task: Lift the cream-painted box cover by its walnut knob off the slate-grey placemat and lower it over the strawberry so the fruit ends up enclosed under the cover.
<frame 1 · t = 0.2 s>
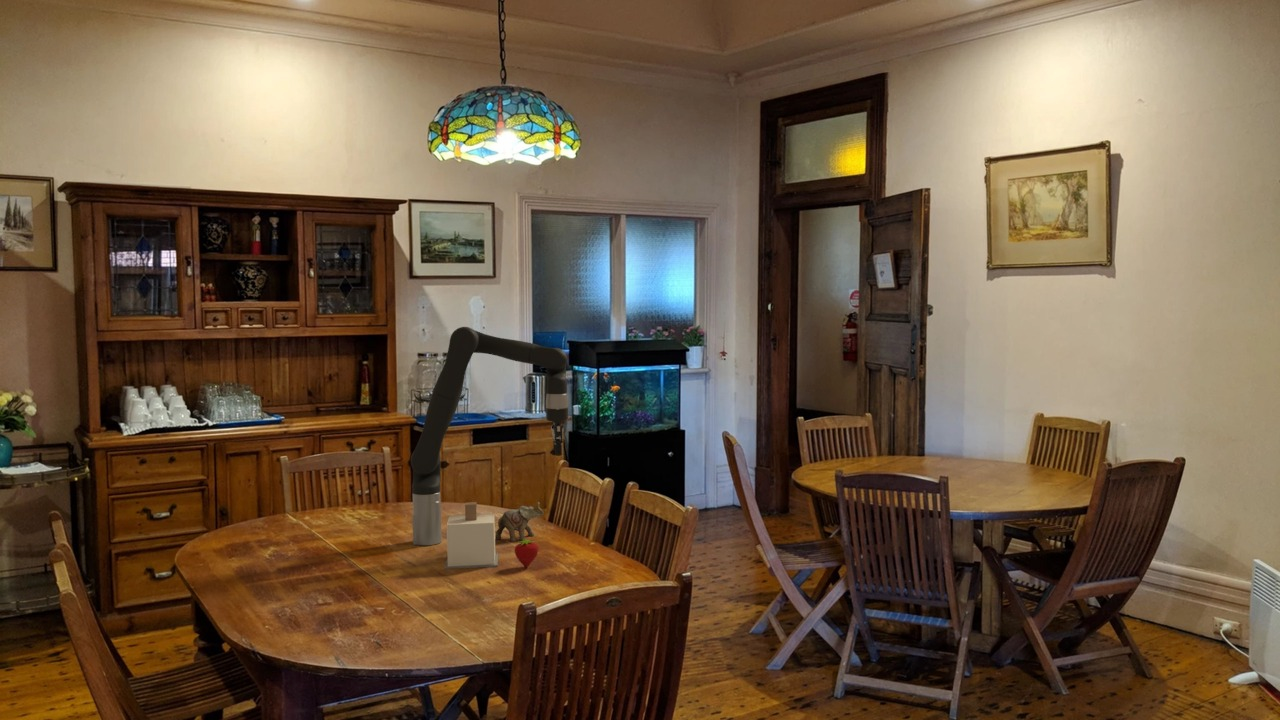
hand: (557, 453, 325), 29 cm above the table, fingers open, 8 cm apart
strawberry: (526, 567, 291), on the table
figurine: (519, 539, 326), on the table
cover: (471, 531, 297), on the mat
mat: (472, 561, 298), on the table
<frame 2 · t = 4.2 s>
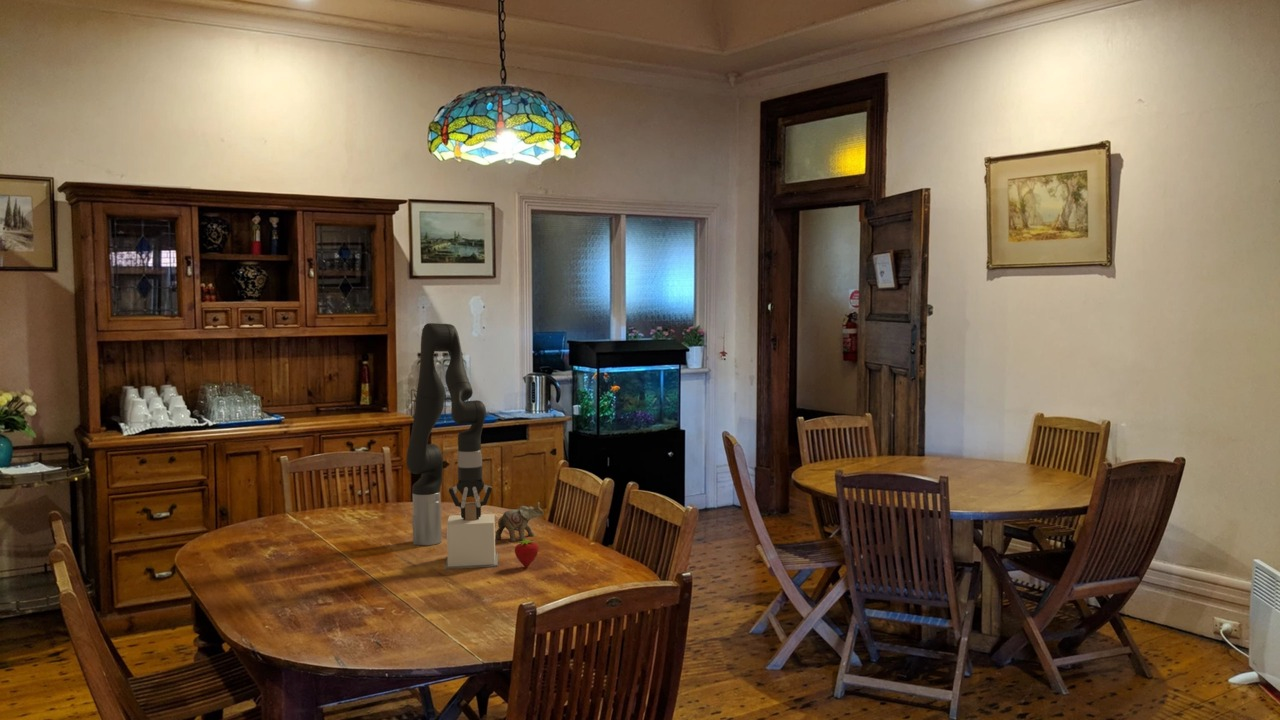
hand: (471, 518, 297), 14 cm above the table, fingers closed on cover, 3 cm apart
cover: (471, 531, 297), on the mat, touching gripper
everything else where it was.
when the fingers open (15 cm above the table, at t = 10.0 s): cover drops 1 cm, on the table.
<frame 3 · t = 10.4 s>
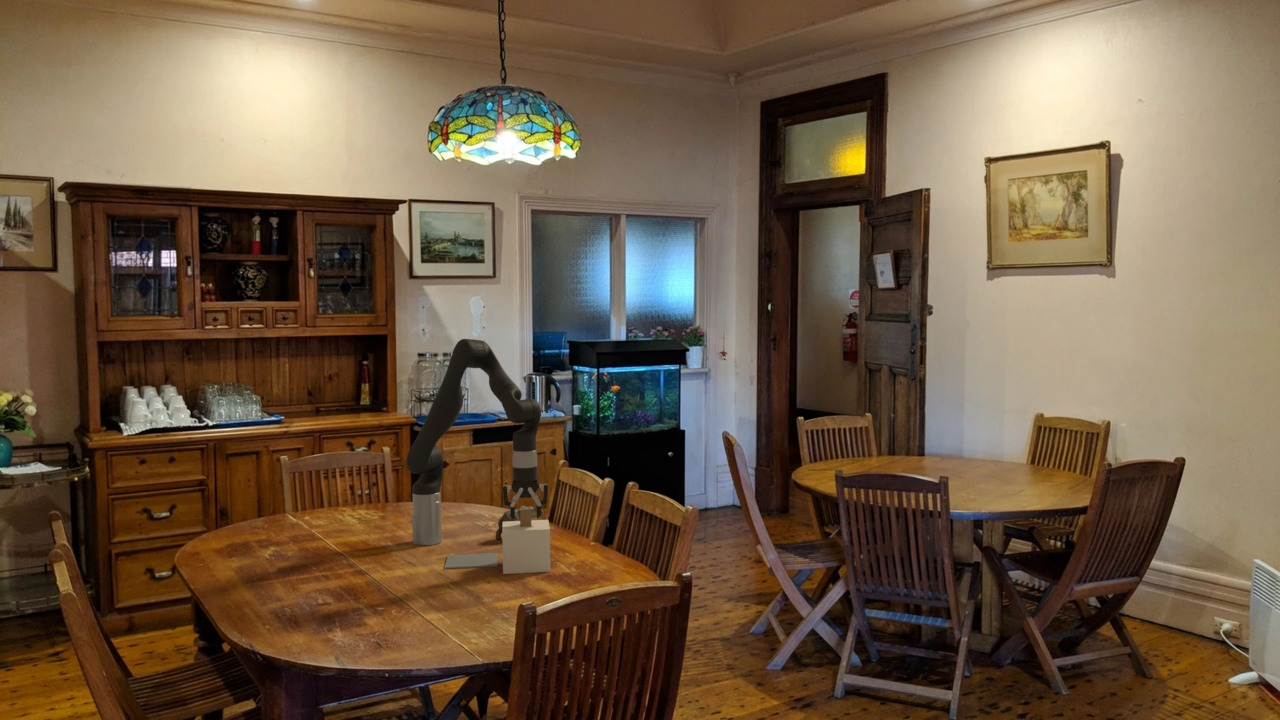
hand: (525, 518, 290), 15 cm above the table, fingers open, 6 cm apart
cover: (526, 538, 291), on the table
everything else where it was.
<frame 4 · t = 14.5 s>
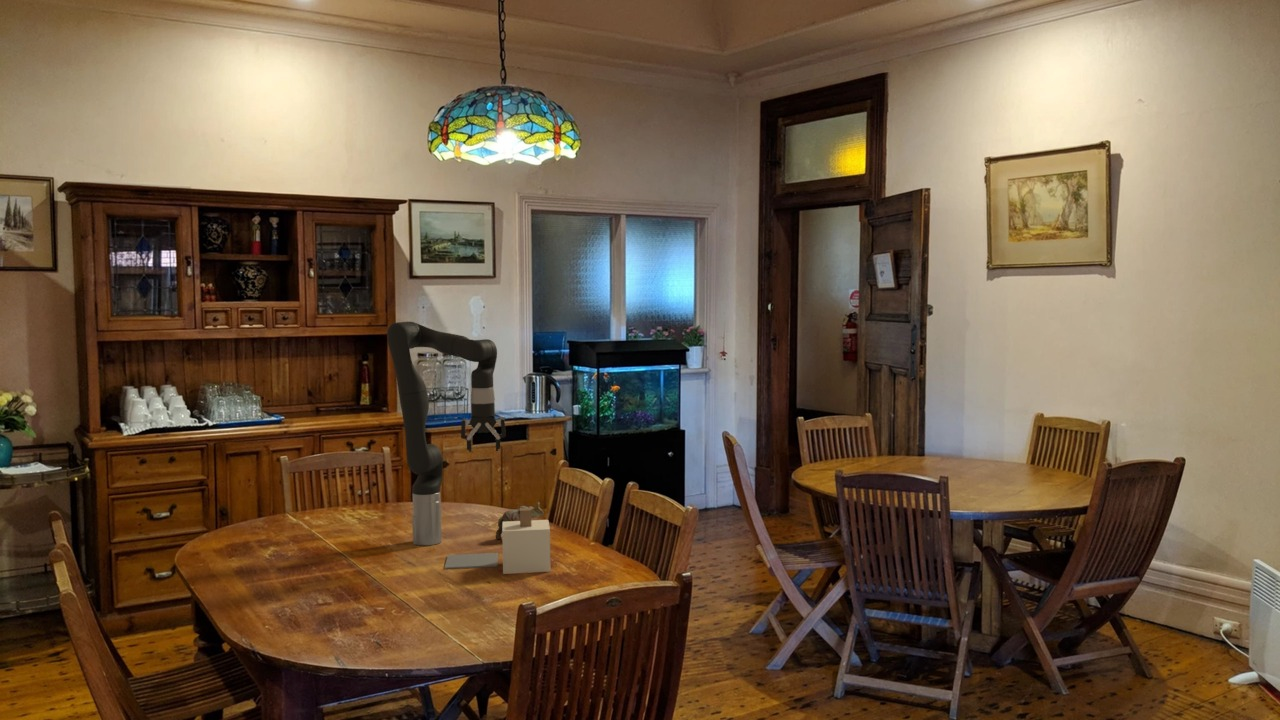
hand: (483, 451, 307), 33 cm above the table, fingers open, 8 cm apart
nothing on the table moved.
at the end: cover 0.1 cm from the strawberry (horizontally); cover on the table; cover tilted 0° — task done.
